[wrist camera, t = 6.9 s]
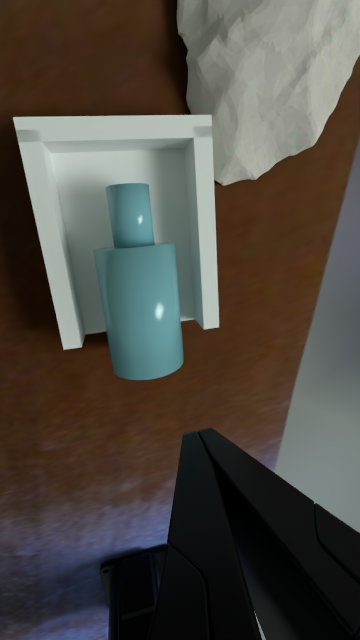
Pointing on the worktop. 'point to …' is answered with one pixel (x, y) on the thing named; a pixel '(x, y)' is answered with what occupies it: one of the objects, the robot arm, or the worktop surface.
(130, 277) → the bottle
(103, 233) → the u rest
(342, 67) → the decorative stone
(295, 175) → the worktop surface
